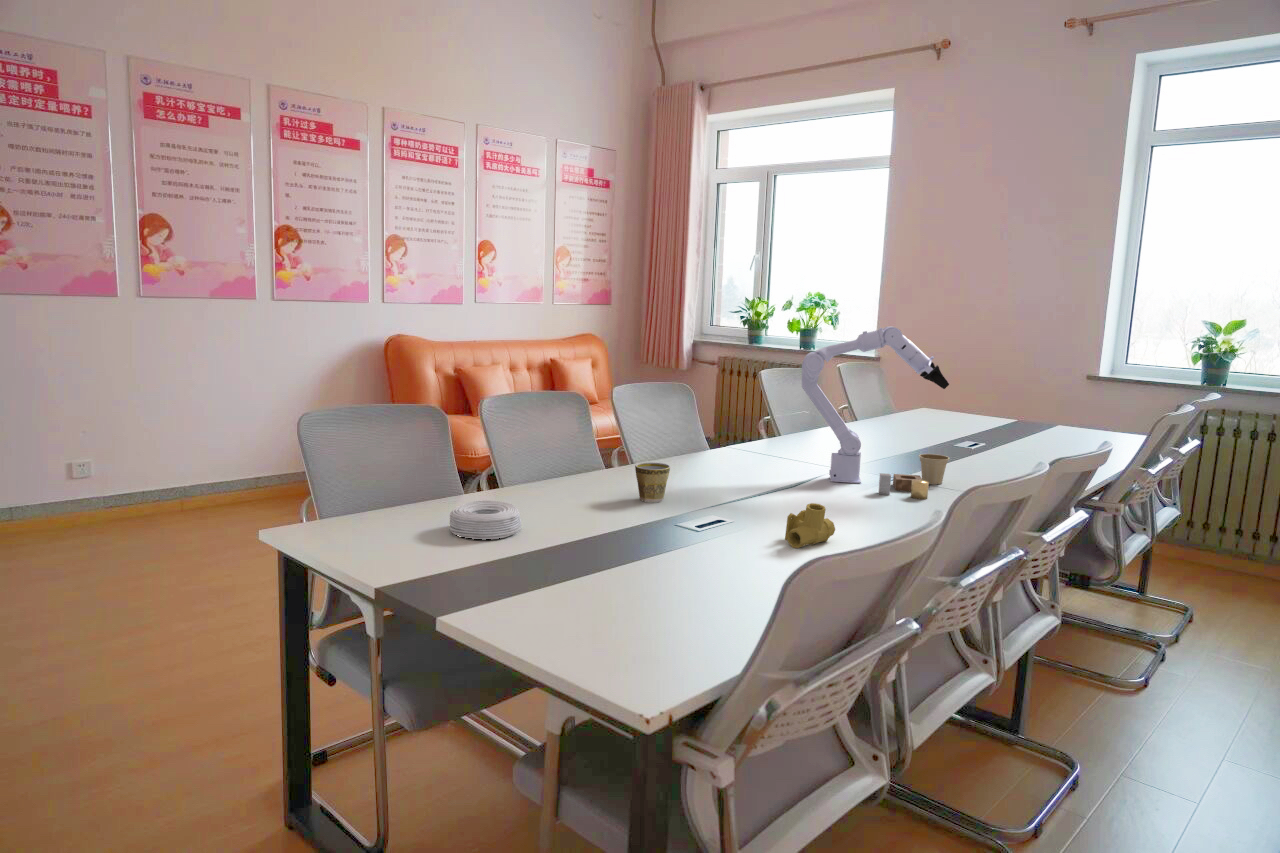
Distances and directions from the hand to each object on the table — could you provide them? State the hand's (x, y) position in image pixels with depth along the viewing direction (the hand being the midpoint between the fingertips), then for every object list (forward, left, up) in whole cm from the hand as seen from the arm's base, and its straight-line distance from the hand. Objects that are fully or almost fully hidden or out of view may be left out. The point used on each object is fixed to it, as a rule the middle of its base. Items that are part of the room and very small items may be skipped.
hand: (944, 385), depth 267 cm
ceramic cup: (-85, -42, -32) cm, 100 cm away
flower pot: (-1, +5, -33) cm, 33 cm away
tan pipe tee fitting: (-42, -74, -33) cm, 91 cm away
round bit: (-8, -18, -32) cm, 38 cm away
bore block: (-10, -6, -32) cm, 34 cm away
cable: (-119, -86, -33) cm, 150 cm away
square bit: (-18, -16, -32) cm, 40 cm away
